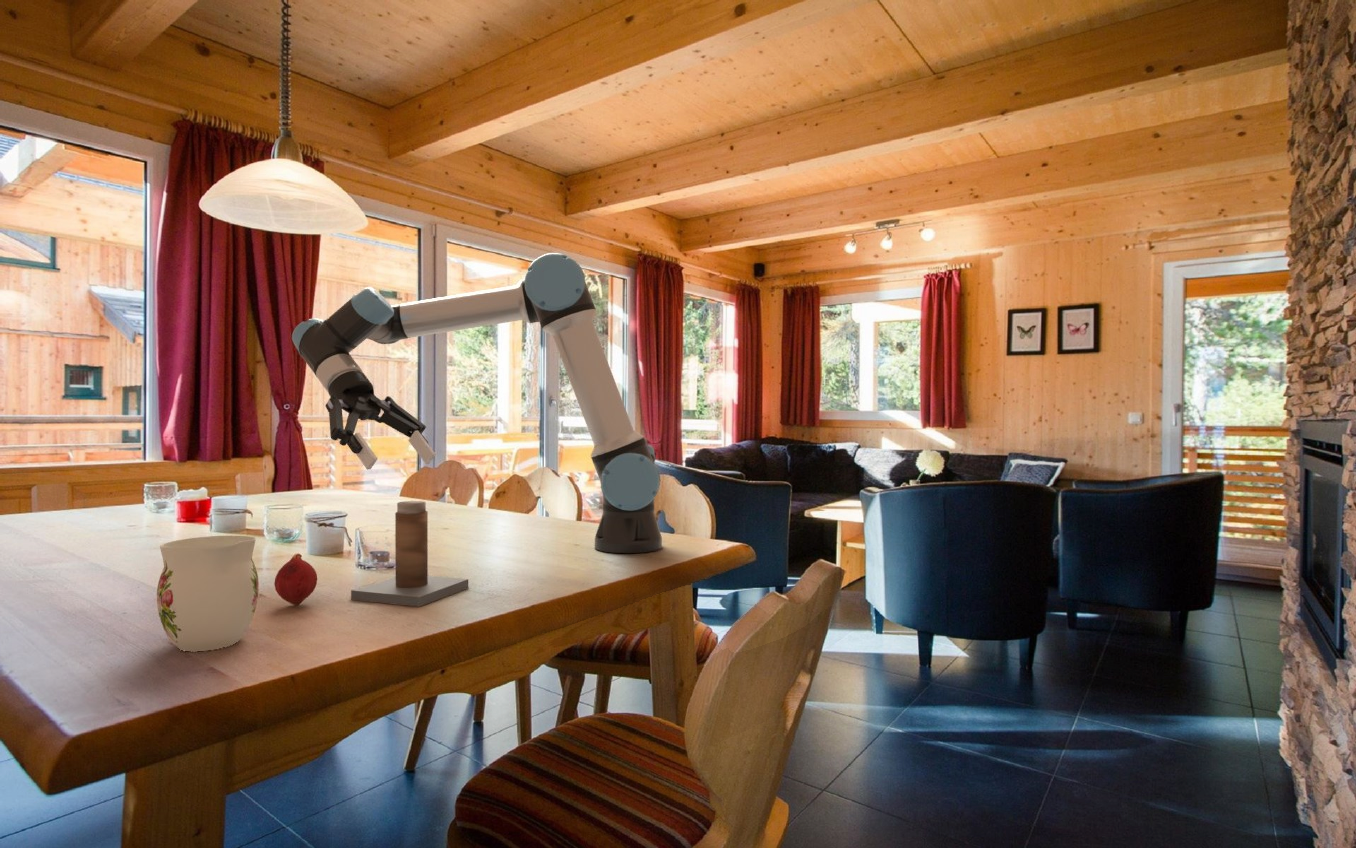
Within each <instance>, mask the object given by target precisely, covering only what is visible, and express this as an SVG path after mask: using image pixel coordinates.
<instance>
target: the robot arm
mask: <svg viewBox="0 0 1356 848" xmlns="http://www.w3.org/2000/svg"><path fill="white" fill-rule="evenodd" d="M590 293H591V292H590V291H589V288H588V286H587V283H586V277H585V273H584V270H583V268H582V267H581V265H580V264H579V263H578V262H577V260H574V259H573V258H572V257H571V256H568V255H567V254H563V253H560V252H550V253H545V254H542V255H541V256H538V257H537V258H536V259H534V260H533V261H532V262H531V264H529V266H528V269H527V270H526V273H525V276H524V279H521V280H519V282H517V284H516V285H512V286H505V287H499V288H493V289H486V290H479V291H474V292H468V293H460V294H456V295H449V296H443V297H435V298H430V299H423V300H418V301H410V302H406V303H400V304H399V303H398V304H394V305H391V304H390V302H389V301H388V300H387V299H386V298H385V297H384V296H383V295H382V294H381V293H380V292H379V291H377V290H376V289H375V288H374V287H371V286H367V287H365V288H363V289H361V290H360V291H358V292H357V293H355V294H353V296H352V297H351V298H350V299H348V301H346V303H344V304H343V305H342V306H341V307H340V308H338V309H337V310H336V311H335V312H334V313H332V314H331V315H330V316H329V317H328V318H326V319H324V320H323V319H321V318H314V317H313V318H309V319H308V320H307V321H301V322H300V323H299V324H297V325H296V327H294V330H293V332H292V337H291V340H292V342H293V344H294V346H295V348H296V350H297V351H298V355H299V356H300V358H302V359H303V360H304V362H305V363H306V364H307V366H308V367H309V368H310V370H311V371H312V372H313V374H314V375H315V377H316V378H317V379H318V380H319V382H320V384H321V385H322V386H323V387H324V389H325V391H326V392H327V393H328V395H329V397H330V398H329V399H328V401H326V403H325V408H326V410H327V413H328V419H329V431H330V434H329V435H330V439H331V440H333V441H338V440H339V442H338V443H339V444H340V445H341V446H346V445H347V446H348V448H349V449H350V451H351V452H352V453H353V454H355V455H356V456H357V458H358V459H359V460H360V462H361V463H362V464H363V466H364V467H365V470H372V468H373V466H374V465H375V463H376V462H377V461H378V457H377V456H376V454H375V452H374V451H373V450H372V448H371V447H370V446H369V444H368V442H367V441H366V439H364V437H363V436H362V434H361V433H360V432H355V431H356V428H357V423H358V421H359V420H360V421H367V420H369V421H374V422H377V423H379V424H382V423H383V424H384V425H387V426H388V427H390V428H392V429H394V430H395V431H397V432H399V433H400V434H402V435H404V436H406V437H407V438H409V439H408V442H409V444H410V445H411V446H412V448H414V450H415V451H416V452H417V454H418V456H419V457H420V458H421V460H422V461H423V462H424V463H425V465H429V464H430V463H431V461H432V460H433V459H434V457H435V456H436V452H434V450H433V448H432V447H431V446H430V444H429V442H428V440H427V438H426V437H425V436H424V435H423V433H424V432H425V429H426V428H427V426H426V425H425V424H424V423H422V422H421V421H420V420H419V419H417V418H416V417H415V416H414V415H412V414H411V413H409V412H408V411H407V410H405V409H404V408H403V407H402V406H400V404H397V403H396V401H395V400H394V399H393V398H392V397H391V396H389V395H388V396H386V397H385V398H384V399H380V398H378V397H377V396H376V395H375V392H374V391H375V390H374V385H373V384H372V382H371V381H370V380H369V378H368V377H367V376H366V375H365V373H364V372H363V369H362V368H361V367H360V365H359V364H358V363H357V362H356V360H355V359H354V358H353V357H352V355H351V354H350V353H351V352H352V351H353V350H354V349H356V348H358V346H359V345H361V344H362V343H363V342H364V341H366V339H367V340H371V341H372V342H375V343H377V344H381V345H391V344H392V345H393V344H396V343H397V342H399V341H401V340H402V341H403V340H407V339H410V338H411V339H412V338H417V337H418V338H419V337H422V336H429V335H435V334H443V333H449V332H456V331H461V330H468V329H474V328H480V327H487V326H493V325H500V324H505V323H509V322H510V323H512V322H517V321H525V322H527V324H534V323H539V324H540V327H541V329H542V331H543V332H544V333H547V334H549V335H551V337H553V340H554V343H555V345H556V349H557V350H558V353H559V356H560V359H561V361H562V364H563V366H564V369H565V371H566V374H567V376H568V377H567V378H568V380H569V381H570V382H569V383H570V384H571V388H572V389H573V390H572V391H573V392H574V395H575V397H576V401H577V403H578V406H579V408H580V411H581V414H582V416H583V418H584V422H585V424H586V427H587V429H588V432H589V435H590V437H591V440H592V441H593V450H592V452H591V453H590V458H591V460H592V463H593V466H594V470H595V471H596V474H597V476H598V477H597V478H598V480H599V484H600V490H601V492H602V515H601V517H600V521H599V523H598V527H597V530H596V532H595V536H594V549H595V550H597V551H601V552H604V553H605V552H606V553H613V554H638V553H649V552H654V551H658V550H661V549H662V548H663V538H662V537H663V536H662V534H661V531H660V528H659V525H658V521H657V518H656V515H655V514H656V513H655V498H656V496H657V494H658V492H659V491H660V490H659V489H660V486H661V475H660V472H659V469H658V467H657V466H656V465H655V462H656V453H655V449H654V446H652V445H650V444H647V441H646V440H645V437H644V434H641V433H638V432H637V431H635V430H634V428H633V426H632V423H631V420H630V417H629V415H628V413H627V410H626V407H625V404H624V401H623V398H622V396H621V394H620V391H619V389H618V385H617V383H616V381H615V378H614V375H613V373H612V370H611V367H610V364H609V362H608V359H607V357H606V354H605V351H604V349H603V347H602V343H601V340H600V337H599V335H598V333H597V330H596V327H595V324H594V323H593V322H594V318H595V316H596V314H597V310H596V307H595V303H594V301H593V298H592V296H591V294H590ZM343 411H345V412H346V413H348V416H347V419H346V424H345V427H344V420H343V419H344V417H343ZM381 412H383V413H382V415H380V414H381ZM354 433H355V434H354Z"/></svg>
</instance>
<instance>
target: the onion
mask: <svg viewBox="0 0 1356 848" xmlns="http://www.w3.org/2000/svg"><path fill="white" fill-rule="evenodd" d="M302 558H303V557H302V554H301V553H295V554H293V556H292V557H291V558H290V559H289V561H286V563H284V564H283V565H282V567H280V569H279V570H278V571H277V573H276V576H275V578H274V582H273V583H274V589H275V591H276V593H277V595H278V596H279V597H280V598H281V599H282V600H283V601H285V602H286V603H289V604H291V605H293V606H299V605H300V604H302V603H303V602H304V601H305V600H306V599H307V598H308V597H309V596H310V595H312V594H313V592H314V591H315V589H316V587H317V584H318V575H317V572H316V570H315V568H314V567H313V566H312V565H311V563H309V562H307V561H306V560H303V559H302Z"/></svg>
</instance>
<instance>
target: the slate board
mask: <svg viewBox="0 0 1356 848" xmlns="http://www.w3.org/2000/svg"><path fill="white" fill-rule="evenodd" d="M466 589H469V579H468V578H459V577H448V576H438V575H437V576H436V575H428V584H427V585H425V586H421V587H415V588H399V587H396V576H393V577H389V578H387V579H386V578H385V579H383V580H380V581H376V582H372V583H370V584H367V585H364V586H361V587H356V588H354V589H351V590H350V600H351V601H361V602H369V603H370V602H371V603H380V604H381V603H382V604H387V605H388V604H390V605H398V606H409V607H418V608H420V607H422V606H425V605H427V604H430V603H432V602H433V603H434V602H435V601H437V600H440V599H443V598H446V597H448V596H451V595H454V594H456V593H459V592H462V591H464V590H466Z"/></svg>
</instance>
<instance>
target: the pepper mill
mask: <svg viewBox="0 0 1356 848" xmlns="http://www.w3.org/2000/svg"><path fill="white" fill-rule="evenodd" d="M396 505H397V511H395V512H394V513H395V514H394V515H395V520H394V521H395V525H394V526H395V527H394V529H395V536H394V537H395V541H394V543H395V544H394V545H395V555H394V556H395V561H394V562H395V565H394V566H395V577H396V587H399V588H415V587H421V586H425V585H427V584H428V576H429V575H428V570H429V569H428V568H429V567H428V564H429V563H428V561H429V559H428V558H429V557H428V552H429V551H428V550H429V549H428V545H429V544H428V543H429V540H428V538H429V537H428V536H429V535H428V531H429V530H428V523H429V522H428V520H429V519H428V518H429V516H428V511H427V510H426V508H427V507H426V505H427V502H426V501H424V500H405V501H399V502H397V503H396Z"/></svg>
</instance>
